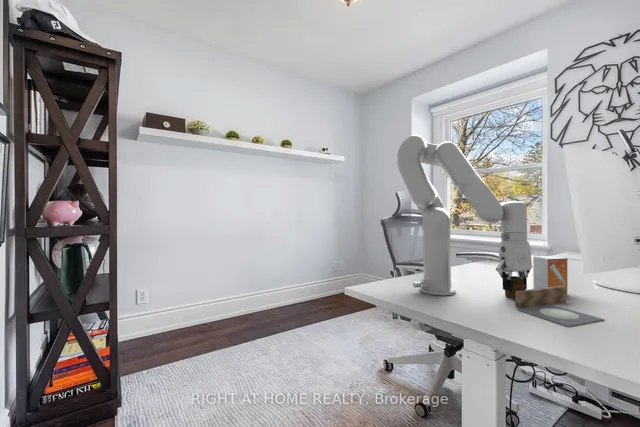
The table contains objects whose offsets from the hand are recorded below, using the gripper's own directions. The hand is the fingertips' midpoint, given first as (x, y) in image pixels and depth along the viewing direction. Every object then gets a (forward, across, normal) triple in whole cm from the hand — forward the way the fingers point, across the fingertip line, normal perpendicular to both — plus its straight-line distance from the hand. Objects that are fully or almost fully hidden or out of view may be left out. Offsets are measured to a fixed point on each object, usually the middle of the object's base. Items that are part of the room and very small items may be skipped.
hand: (514, 289), depth 103 cm
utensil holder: (+3, 0, 0) cm, 3 cm away
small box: (+3, +17, 0) cm, 17 cm away
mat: (+3, -4, -17) cm, 18 cm away
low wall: (+3, +1, -8) cm, 9 cm away
